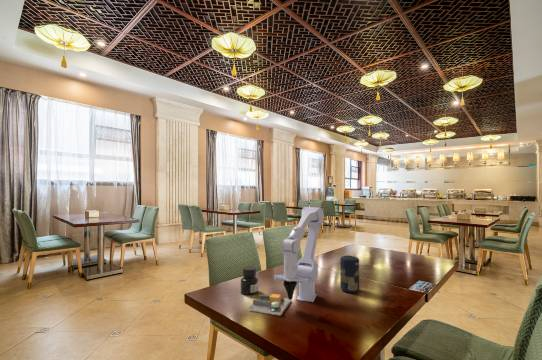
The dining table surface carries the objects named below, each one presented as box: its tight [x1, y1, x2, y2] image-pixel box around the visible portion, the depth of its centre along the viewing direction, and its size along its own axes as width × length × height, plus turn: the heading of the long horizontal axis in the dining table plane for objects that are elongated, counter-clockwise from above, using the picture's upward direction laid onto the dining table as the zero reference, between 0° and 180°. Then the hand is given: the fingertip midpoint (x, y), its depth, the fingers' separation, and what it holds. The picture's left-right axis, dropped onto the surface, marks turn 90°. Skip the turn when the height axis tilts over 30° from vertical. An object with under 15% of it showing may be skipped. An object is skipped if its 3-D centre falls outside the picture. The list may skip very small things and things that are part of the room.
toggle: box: [269, 293, 282, 304], centre depth 118 cm, size 4×4×3 cm
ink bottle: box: [240, 266, 259, 296], centre depth 136 cm, size 10×9×12 cm
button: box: [271, 302, 279, 308], centre depth 112 cm, size 3×3×1 cm
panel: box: [249, 294, 292, 317], centre depth 119 cm, size 16×14×3 cm
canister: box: [339, 254, 360, 294], centre depth 139 cm, size 10×10×18 cm
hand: (290, 298), depth 116 cm, fingers closed
